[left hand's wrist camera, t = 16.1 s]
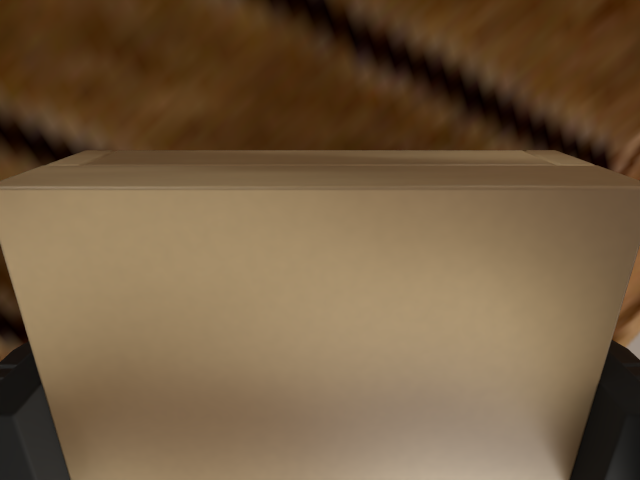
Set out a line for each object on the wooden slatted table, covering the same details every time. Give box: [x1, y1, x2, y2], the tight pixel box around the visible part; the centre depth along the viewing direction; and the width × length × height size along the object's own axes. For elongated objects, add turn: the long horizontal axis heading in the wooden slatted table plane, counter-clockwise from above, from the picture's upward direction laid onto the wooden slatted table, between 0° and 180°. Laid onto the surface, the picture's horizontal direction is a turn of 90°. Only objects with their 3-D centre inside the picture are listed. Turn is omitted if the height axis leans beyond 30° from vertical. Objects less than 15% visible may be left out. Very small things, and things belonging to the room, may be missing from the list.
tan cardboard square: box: [0, 150, 640, 480], centre depth 10 cm, size 10×10×3 cm
